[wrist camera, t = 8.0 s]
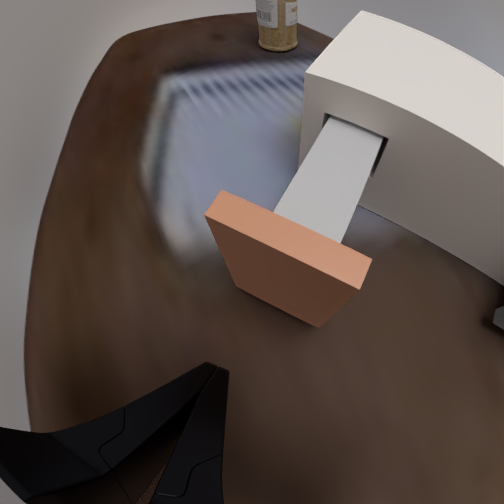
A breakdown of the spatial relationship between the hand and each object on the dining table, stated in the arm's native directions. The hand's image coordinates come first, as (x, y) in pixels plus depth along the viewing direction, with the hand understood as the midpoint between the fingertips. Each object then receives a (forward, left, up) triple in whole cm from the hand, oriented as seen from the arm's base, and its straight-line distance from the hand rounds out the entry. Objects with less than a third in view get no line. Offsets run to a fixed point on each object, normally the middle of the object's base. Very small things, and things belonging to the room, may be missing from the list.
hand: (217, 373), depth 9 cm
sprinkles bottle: (+21, +26, -7) cm, 34 cm away
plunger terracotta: (+10, +5, -6) cm, 12 cm away
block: (+21, +2, -7) cm, 22 cm away
